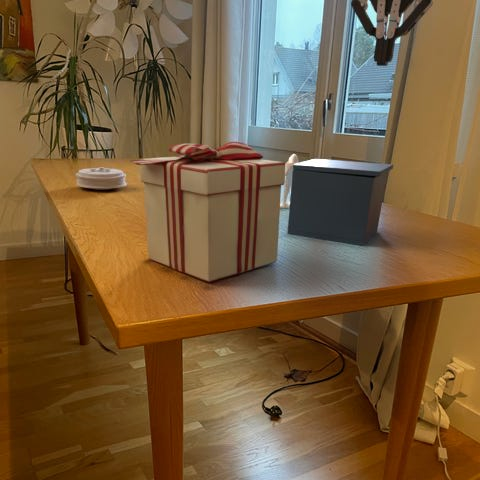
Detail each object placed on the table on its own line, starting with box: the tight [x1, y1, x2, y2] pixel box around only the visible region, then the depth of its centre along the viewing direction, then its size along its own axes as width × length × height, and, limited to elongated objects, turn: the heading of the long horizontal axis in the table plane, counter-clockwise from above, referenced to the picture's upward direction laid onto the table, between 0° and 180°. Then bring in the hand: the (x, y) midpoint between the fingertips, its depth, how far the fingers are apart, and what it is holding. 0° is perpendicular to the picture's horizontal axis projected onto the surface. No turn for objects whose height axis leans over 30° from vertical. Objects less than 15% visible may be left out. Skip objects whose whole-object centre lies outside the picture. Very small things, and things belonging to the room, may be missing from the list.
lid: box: [75, 166, 127, 191], centre depth 124 cm, size 13×13×5 cm
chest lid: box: [293, 158, 394, 176], centre depth 88 cm, size 16×13×1 cm
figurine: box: [280, 153, 299, 209], centre depth 111 cm, size 7×4×12 cm, turn 141°
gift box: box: [128, 141, 286, 283], centre depth 70 cm, size 17×18×17 cm
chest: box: [286, 169, 388, 247], centre depth 91 cm, size 15×13×12 cm
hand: (381, 65), depth 79 cm, fingers closed
